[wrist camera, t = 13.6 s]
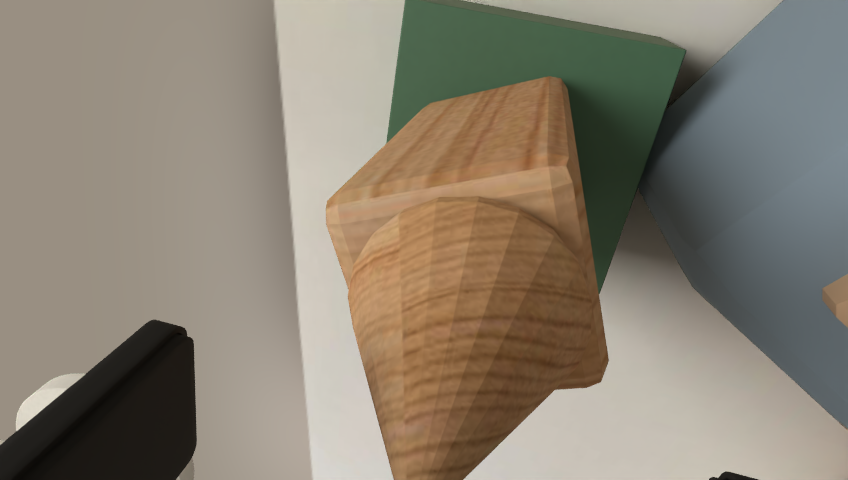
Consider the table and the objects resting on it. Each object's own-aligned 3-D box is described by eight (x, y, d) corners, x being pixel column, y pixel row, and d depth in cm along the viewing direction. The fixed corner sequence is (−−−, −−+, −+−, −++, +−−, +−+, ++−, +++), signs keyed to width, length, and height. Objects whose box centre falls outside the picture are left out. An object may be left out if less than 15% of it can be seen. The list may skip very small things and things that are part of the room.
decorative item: (586, 211, 26) (658, 687, 8) (452, 231, 28) (281, 655, 10) (564, 70, 24) (603, 323, 6) (419, 103, 26) (127, 369, 8)
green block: (400, 200, 35) (373, 240, 29) (431, -6, 29) (405, -3, 24) (591, 244, 33) (599, 294, 28) (661, 37, 28) (687, 50, 23)
